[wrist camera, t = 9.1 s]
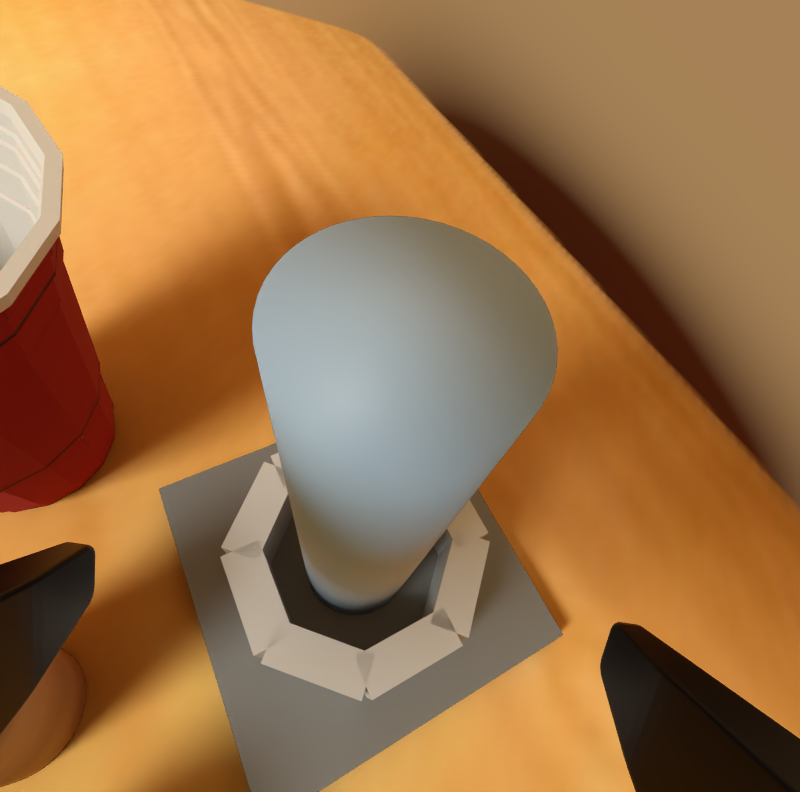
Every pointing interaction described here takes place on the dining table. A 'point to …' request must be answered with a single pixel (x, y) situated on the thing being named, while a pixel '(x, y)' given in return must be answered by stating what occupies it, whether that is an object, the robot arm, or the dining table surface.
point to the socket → (339, 627)
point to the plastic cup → (42, 330)
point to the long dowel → (393, 390)
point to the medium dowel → (43, 721)
